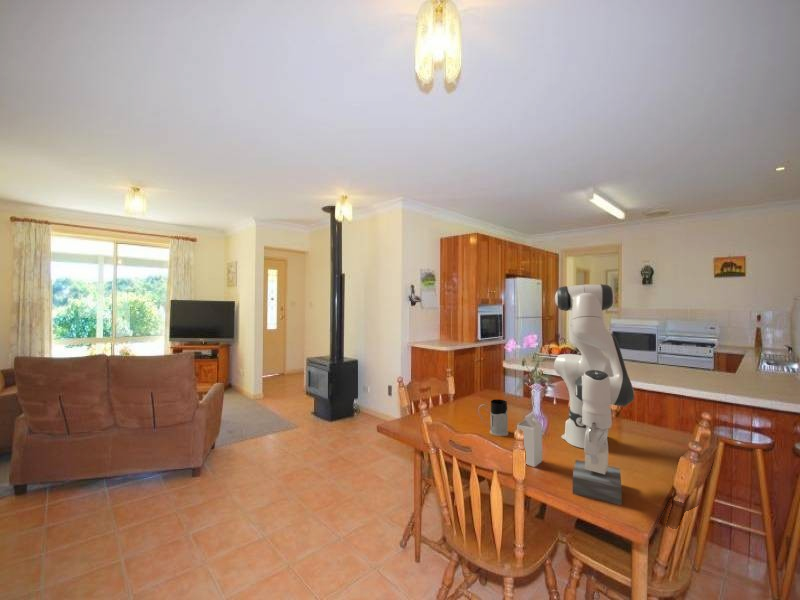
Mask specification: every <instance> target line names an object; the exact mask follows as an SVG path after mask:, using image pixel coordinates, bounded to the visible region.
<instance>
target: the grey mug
mask: <svg viewBox="0 0 800 600" xmlns="http://www.w3.org/2000/svg"><path fill="white" fill-rule="evenodd" d="M482 406H483V407H486V412H487V413H488V414H490V424H489V423H487V422H486V421H485V420H484V419H483V418H482V416H481V413H480V411H478V415H479V417H480V419H481V421H482V422H483V423H485V424H486V425H487V426H488V427H489V433H490V434H491V435H493V436H497V437H505V436H508V435H509V431H508V425H509V424H508V422H509V421H508V401H506V400H504V399H492V400H490V411H489V408H488V406H487V405H486V404H480V405H479V407H478V410H480V408H481V407H482Z"/></svg>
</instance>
